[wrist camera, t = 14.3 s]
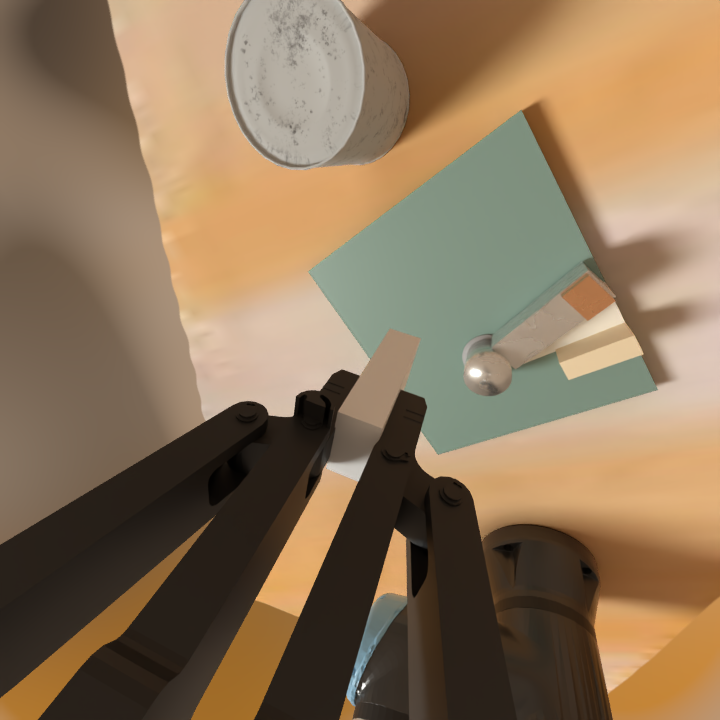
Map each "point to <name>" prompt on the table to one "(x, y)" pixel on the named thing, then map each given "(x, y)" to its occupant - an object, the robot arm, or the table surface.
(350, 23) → the speckled grey cylinder
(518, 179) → the board
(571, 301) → the bar
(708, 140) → the table surface
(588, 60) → the table surface
